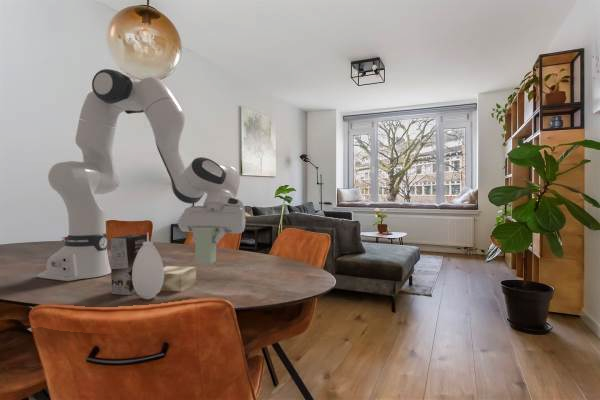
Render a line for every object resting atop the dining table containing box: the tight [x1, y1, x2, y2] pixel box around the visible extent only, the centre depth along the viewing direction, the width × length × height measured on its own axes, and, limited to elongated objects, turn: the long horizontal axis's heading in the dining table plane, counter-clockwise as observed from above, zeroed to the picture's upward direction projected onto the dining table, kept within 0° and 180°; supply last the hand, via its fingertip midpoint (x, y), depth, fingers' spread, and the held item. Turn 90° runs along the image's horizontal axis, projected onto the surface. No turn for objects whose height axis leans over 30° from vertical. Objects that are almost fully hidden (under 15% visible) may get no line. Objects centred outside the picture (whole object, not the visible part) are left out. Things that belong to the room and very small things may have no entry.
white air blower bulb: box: [132, 232, 164, 300], centre depth 94 cm, size 8×8×18 cm
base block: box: [160, 265, 197, 292], centre depth 107 cm, size 10×10×5 cm
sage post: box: [194, 227, 217, 265], centre depth 102 cm, size 4×4×10 cm
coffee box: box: [110, 233, 147, 296], centre depth 102 cm, size 9×6×16 cm
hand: (205, 242), depth 101 cm, fingers closed on sage post, 4 cm apart
